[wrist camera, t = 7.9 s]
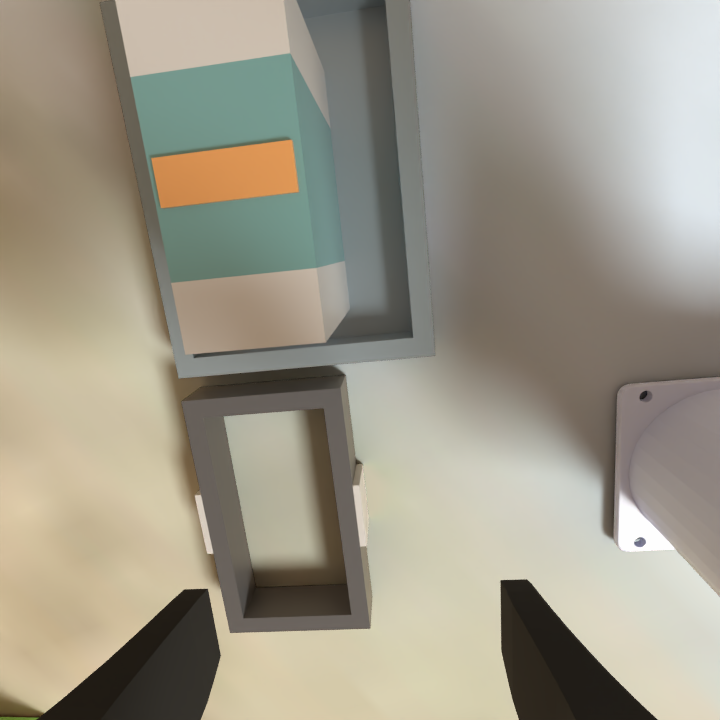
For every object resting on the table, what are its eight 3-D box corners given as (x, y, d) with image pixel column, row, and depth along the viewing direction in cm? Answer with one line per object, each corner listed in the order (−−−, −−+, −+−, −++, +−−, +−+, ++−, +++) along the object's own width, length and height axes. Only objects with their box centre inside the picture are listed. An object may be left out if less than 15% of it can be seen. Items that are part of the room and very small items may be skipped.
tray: (404, -17, 17) (406, -52, 15) (431, 345, 20) (435, 355, 18) (131, 29, 18) (99, 2, 16) (198, 366, 21) (178, 378, 19)
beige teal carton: (324, 71, 17) (276, -51, 10) (350, 309, 19) (325, 343, 12) (221, 86, 17) (107, -22, 10) (258, 317, 19) (183, 355, 13)
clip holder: (352, 374, 20) (347, 387, 18) (378, 596, 23) (376, 628, 21) (194, 387, 21) (174, 401, 19) (238, 601, 24) (224, 633, 22)
